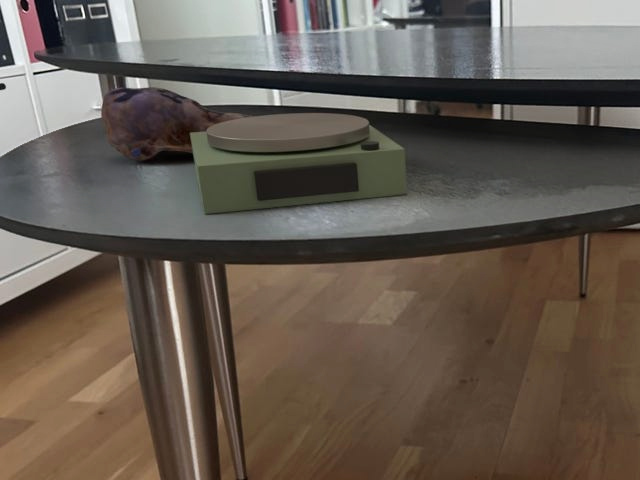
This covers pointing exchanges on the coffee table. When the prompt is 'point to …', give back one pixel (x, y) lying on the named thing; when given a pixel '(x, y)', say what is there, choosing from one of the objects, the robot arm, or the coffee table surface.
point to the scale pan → (288, 132)
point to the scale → (297, 174)
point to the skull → (155, 121)
